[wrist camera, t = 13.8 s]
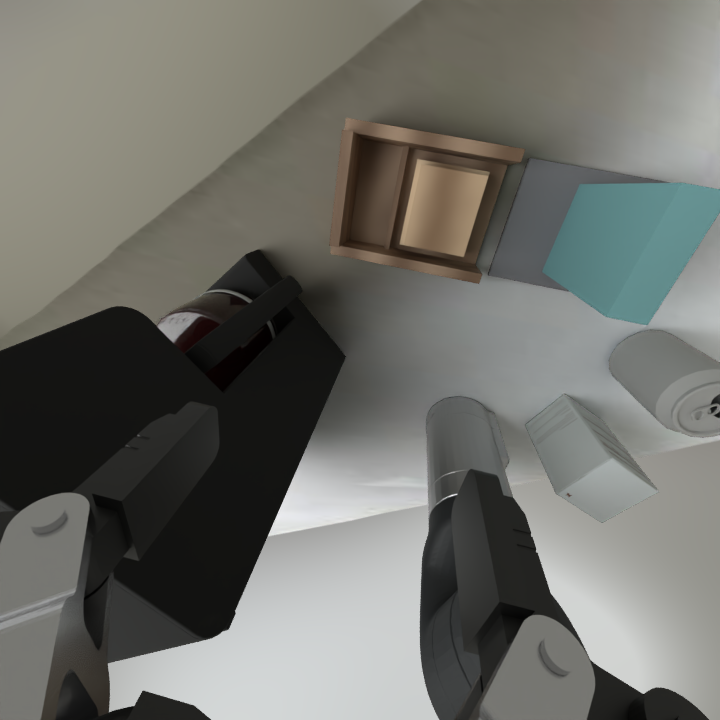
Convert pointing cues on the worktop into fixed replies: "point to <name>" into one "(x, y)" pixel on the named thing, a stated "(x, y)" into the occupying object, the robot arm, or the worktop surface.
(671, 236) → the teal board
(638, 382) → the can
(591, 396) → the worktop surface
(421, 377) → the worktop surface
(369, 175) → the walnut rack
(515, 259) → the charcoal mat
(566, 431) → the supplement box
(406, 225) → the lower offcut
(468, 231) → the upper offcut
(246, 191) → the worktop surface
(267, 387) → the coffee maker
